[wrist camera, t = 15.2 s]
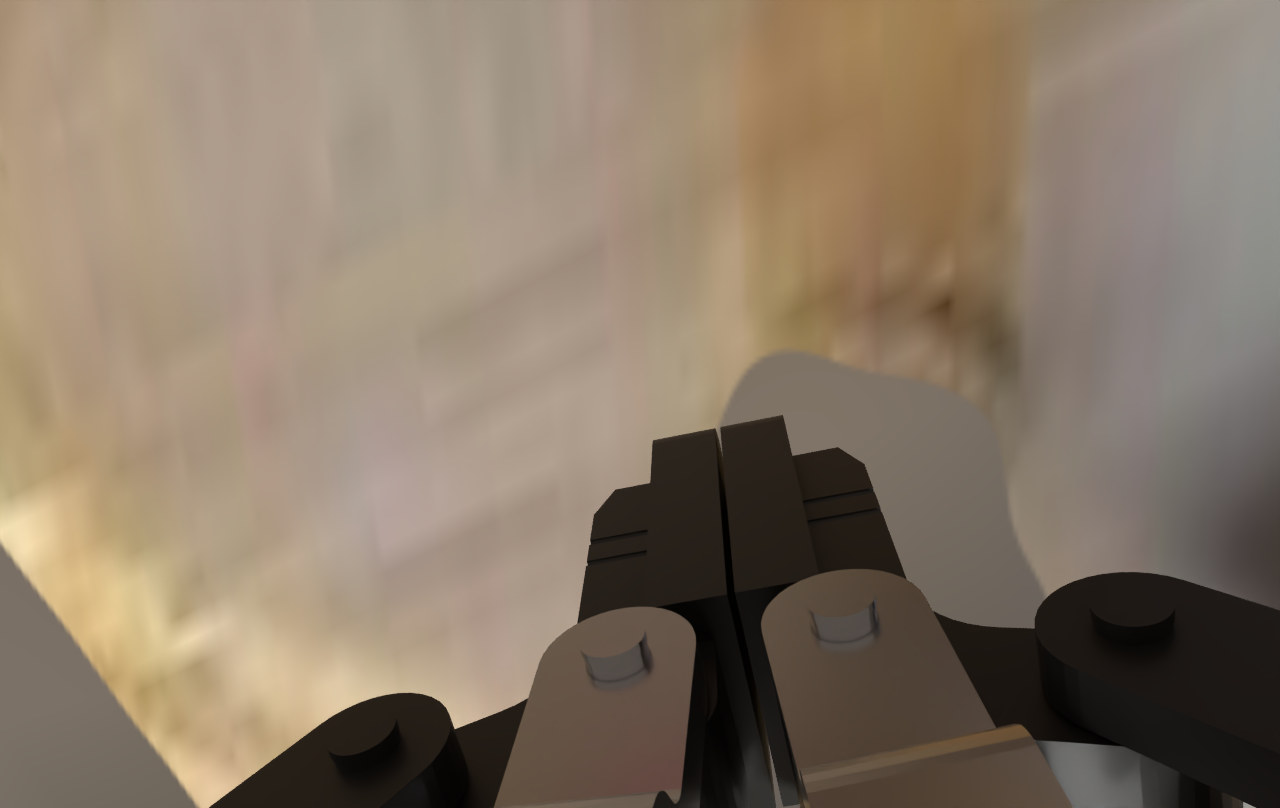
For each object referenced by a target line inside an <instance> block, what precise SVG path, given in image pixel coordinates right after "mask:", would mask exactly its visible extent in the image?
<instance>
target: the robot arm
mask: <svg viewBox="0 0 1280 808" xmlns="http://www.w3.org/2000/svg"><path fill="white" fill-rule="evenodd" d="M720 429H721V441H722V451H721V447H720V443H719V439H718V435H717V432H716V429H715V428H714V429H709V430H704V431H699V432H694V433H689V434H683V435H678V436H673V437H668V438H663V439H658V440H653V445H652V463H651V481H650V483H649V484H643V485H638V486H633V487H627V488H622V489H617V490H615V491H614V492H613V493H612V494H611V496H610V497H609V498H608V499H607V500H606V501H605V503H604V504H603V505H602V506H601V507H600V509H599V510H598V511H597V512H596V513H595V514H594V519H593V525H592V532H591V538H590V541H591V545H589V551H588V558H587V563H588V566H586V571H585V577H584V584H583V590H582V597H581V603H580V610H579V616H578V623H577V624H576V625H574V626H573V627H571V628H570V629H568V630H566V631H565V632H564V633H563V634H561V635H560V636H559V637H558V638H556V639H555V640H554V641H553V643H552V644H551V645H550V646H549V647H548V648H547V650H546V651H545V653H544V654H543V656H542V658H541V660H540V663H539V666H538V669H537V672H536V675H535V678H534V681H533V685H532V688H531V691H530V694H529V697H528V699H526V700H524V701H522V702H520V703H518V704H517V705H515V706H512V707H510V708H508V709H506V710H503V711H501V712H498V713H496V714H493V715H491V716H488V717H486V718H483V719H480V720H478V721H475V722H473V723H470V724H467V725H465V726H462V727H460V728H457V729H454V726H453V724H452V721H451V718H450V715H449V713H448V711H447V709H446V707H445V706H444V705H443V704H442V703H441V702H440V701H438V700H436V699H434V698H432V697H430V696H426V695H423V694H416V693H397V694H390V695H384V696H380V697H376V698H372V699H369V700H366V701H363V702H360V703H358V704H356V705H353V706H351V707H349V708H347V709H345V710H343V711H341V712H339V713H338V714H336V715H334V716H332V717H331V718H329V719H328V720H326V721H325V722H323V723H322V724H320V725H319V726H318V727H316V728H315V729H314V730H312V731H311V732H310V733H308V734H307V735H306V736H304V737H303V738H302V739H300V740H299V741H298V742H296V743H295V744H294V745H292V746H291V747H289V748H288V749H287V750H285V751H284V752H283V753H281V754H280V755H279V756H277V757H276V758H275V759H273V760H272V761H271V762H269V763H268V764H267V765H265V766H264V767H263V768H261V769H260V770H259V771H257V772H256V773H255V774H253V775H252V776H251V777H249V778H248V779H246V780H245V781H244V782H242V783H241V784H240V785H238V786H237V787H236V788H234V789H233V790H232V791H230V792H229V793H228V794H226V795H225V796H224V797H222V798H221V799H220V800H218V801H217V802H216V803H214V804H213V805H212V806H210V807H209V808H776V804H775V795H774V786H773V777H772V769H771V760H770V751H769V746H770V750H771V755H772V759H773V763H774V768H775V772H776V777H777V781H778V786H779V790H780V795H781V799H782V803H783V806H791V805H797V804H800V808H1243V802H1245V803H1247V804H1249V805H1252V806H1254V807H1256V808H1280V611H1279V610H1276V609H1273V608H1270V607H1267V606H1264V605H1260V604H1257V603H1254V602H1251V601H1248V600H1245V599H1241V598H1238V597H1235V596H1232V595H1229V594H1226V593H1222V592H1219V591H1216V590H1213V589H1210V588H1207V587H1204V586H1200V585H1197V584H1194V583H1191V582H1188V581H1185V580H1181V579H1177V578H1173V577H1169V576H1164V575H1158V574H1152V573H1139V572H1118V573H1108V574H1101V575H1096V576H1091V577H1086V578H1083V579H1080V580H1077V581H1074V582H1072V583H1069V584H1067V585H1065V586H1063V587H1061V588H1059V589H1058V590H1056V591H1055V592H1053V593H1052V594H1050V595H1049V596H1048V597H1047V598H1046V599H1045V600H1044V601H1043V602H1042V604H1041V605H1040V607H1039V609H1038V610H1037V614H1036V616H1035V629H1031V628H1030V629H1028V628H1001V627H1000V628H999V627H986V626H979V625H972V624H967V623H963V622H960V621H956V620H952V619H950V618H947V617H945V616H942V615H940V614H938V613H936V612H934V611H933V610H932V608H931V607H930V605H929V603H928V601H927V599H926V597H925V596H924V594H923V593H922V592H921V590H920V589H919V588H917V586H915V585H914V584H913V583H912V582H910V581H908V580H907V579H906V576H905V574H904V571H903V568H902V565H901V563H900V560H899V558H898V554H897V552H896V549H895V546H894V544H893V541H892V538H891V535H890V533H889V530H888V528H887V525H886V522H885V519H884V516H883V514H882V512H881V510H880V506H879V503H878V500H877V497H876V495H875V493H874V491H873V487H872V484H871V481H870V478H869V476H868V473H867V470H866V468H865V465H864V464H863V463H862V462H860V461H858V460H857V459H855V458H854V457H852V456H851V455H849V454H847V453H846V452H844V451H843V450H841V449H840V448H838V447H837V448H832V449H827V450H821V451H816V452H811V453H806V454H800V455H796V456H792V453H791V448H790V444H789V440H788V435H787V431H786V426H785V422H784V418H783V415H781V416H776V417H771V418H765V419H760V420H755V421H750V422H745V423H739V424H734V425H729V426H724V427H721V428H720ZM722 453H723V456H722ZM768 741H769V742H768Z"/></svg>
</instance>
